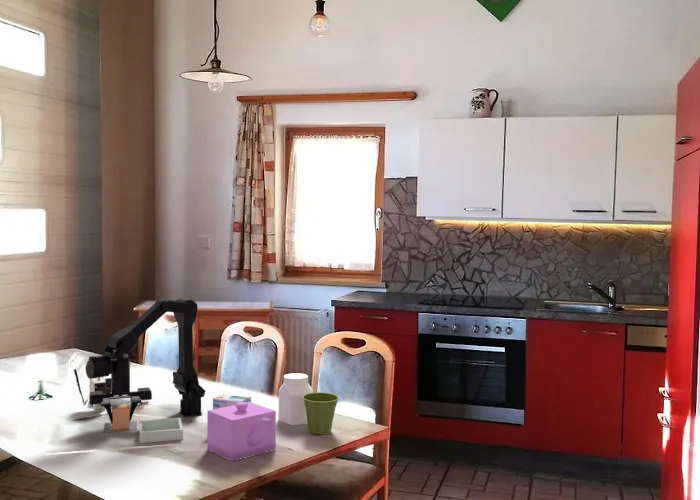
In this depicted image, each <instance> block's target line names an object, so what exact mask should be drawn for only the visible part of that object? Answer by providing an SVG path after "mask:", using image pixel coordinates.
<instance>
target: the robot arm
mask: <svg viewBox="0 0 700 500" xmlns="http://www.w3.org/2000/svg"><path fill="white" fill-rule="evenodd" d="M198 309H199V307H198V304H197V302H196V301H195V300H193V299H188V298H183V297H181V298H177V299H175V300H171V299H163V298H160V299H159V298H158V299H157V300H156V301H154V304H152V305H151V306H150V307H149V308H148V309H146V311H145V312H143V313H142V314H141V315H140V316H139V317H138V318H137V319H136V320H135V321H133V322H132V323H131V324H130V325H128V326H127V327H124V328H123V329H120V330H118V331H116V332H115V333H113V334H111V336H110V337H109V338H108V342H107V344H106V346H105V347H104V349H103V350H102V352H101V354H100V355H95V356H94V355H91V356H88V361H87V362H86V365H85V373H86V376H87V378H88V380H90V379H93V378H99V377H104V378H105V389H109V388H110V391H111V393H109V394H103V392H102V391H94V392H90V391H89V394H88V401H89V405H94V404H100V405H101V406H104V407H105V411H106V412H107V415H108V418H109V421H110V423H111V424H112V423H113V418H112V405H111V400H120V399H130V400H129V422H132V418H133V415H134V413H135V410H136V408H137V407H138V405H139V404H141V403H142V401H149V400H152V399H153V394H152V392H153V391H152V390H151V388H149V387H148V386H147V387H137V391H131V360H136V359H137V356H136V355H135V354H134V353H133V351H132V350H133V348H135V346H137V344H138V341H139V339H140V337H141V336H142V335H143V334H144V333H145V332H147V330H149V329H150V328H151V327H152V326H153V325H154V324H155V323H157V321H158V320H159V319H160V318H162V317H163V316H164V315H165V314H166V313H173V318H174V319H175V321H176V323H177V329H178V333H177V334H178V336H177V337H178V367H177V370H176V371H173V372H172V377H173V379H172V380H173V381H172V384H173V386H174V387H175V389H176V390H177V391H178V393H179V395H181V399H180V400H179V403H180V405H179V411H180V414H181V415H182V416H183V417H186V416H187V417H189V416H202V415H203V412H202V398H204V397H205V395H206V389H205V388H203V387H202V386H201V385H200V382H199V377H198V373H197V371H196V369H195V367H194V327H193V326H194V323H195V320H196V319H197V317H198V316H197V315H198ZM109 376H110V377H109ZM106 377H109V378H106Z"/></svg>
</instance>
